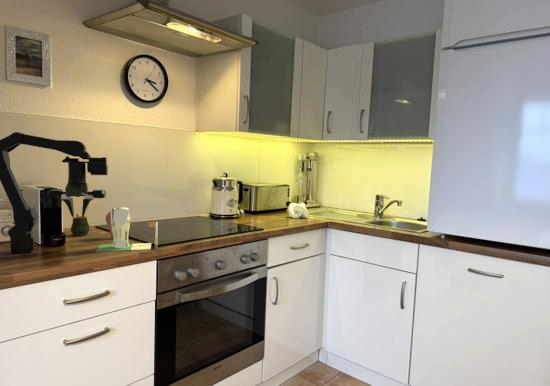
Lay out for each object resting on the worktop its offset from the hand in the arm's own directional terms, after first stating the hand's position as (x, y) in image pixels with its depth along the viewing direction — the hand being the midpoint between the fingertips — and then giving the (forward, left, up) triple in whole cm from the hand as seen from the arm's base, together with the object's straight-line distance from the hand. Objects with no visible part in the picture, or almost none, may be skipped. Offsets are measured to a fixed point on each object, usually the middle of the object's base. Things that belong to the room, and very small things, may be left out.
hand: (78, 217), depth 142 cm
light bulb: (+15, +14, -12) cm, 24 cm away
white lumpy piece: (+123, +30, -12) cm, 127 cm away
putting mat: (+17, -6, -12) cm, 21 cm away
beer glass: (+14, -5, -12) cm, 19 cm away
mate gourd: (+3, +27, -12) cm, 30 cm away
